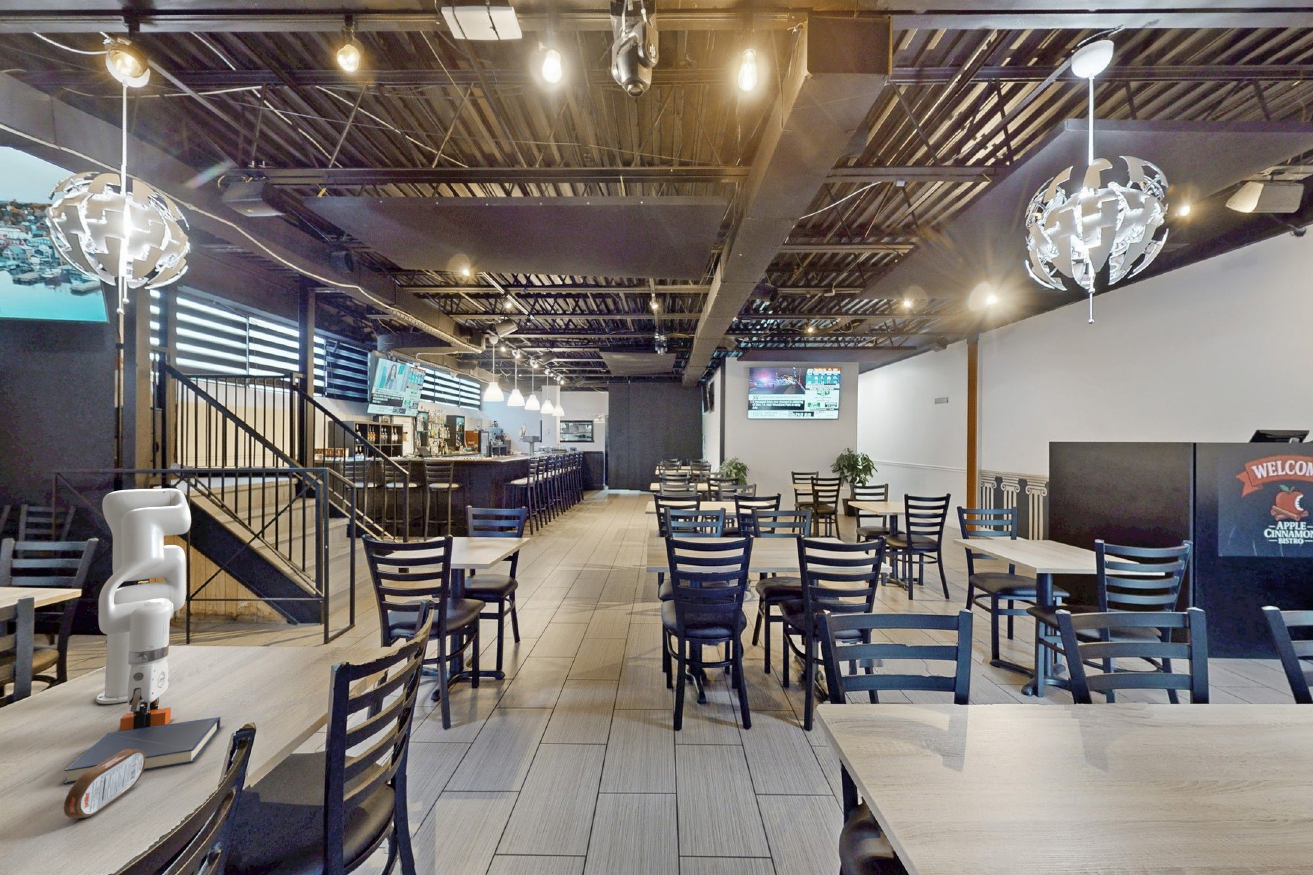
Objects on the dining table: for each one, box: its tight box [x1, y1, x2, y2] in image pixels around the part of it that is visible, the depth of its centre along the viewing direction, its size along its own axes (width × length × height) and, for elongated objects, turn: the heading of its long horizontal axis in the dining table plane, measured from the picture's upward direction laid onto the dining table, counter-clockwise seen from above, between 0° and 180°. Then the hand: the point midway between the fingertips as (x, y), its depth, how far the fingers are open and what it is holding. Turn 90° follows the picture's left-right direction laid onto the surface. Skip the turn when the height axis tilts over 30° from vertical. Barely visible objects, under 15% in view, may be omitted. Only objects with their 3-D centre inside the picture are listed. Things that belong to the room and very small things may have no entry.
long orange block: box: [119, 707, 172, 731], centre depth 136 cm, size 3×9×4 cm, turn 113°
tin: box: [63, 749, 146, 819], centre depth 107 cm, size 15×3×8 cm, turn 5°
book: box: [63, 716, 221, 785], centre depth 124 cm, size 16×22×3 cm
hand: (145, 725), depth 136 cm, fingers closed on long orange block, 3 cm apart
